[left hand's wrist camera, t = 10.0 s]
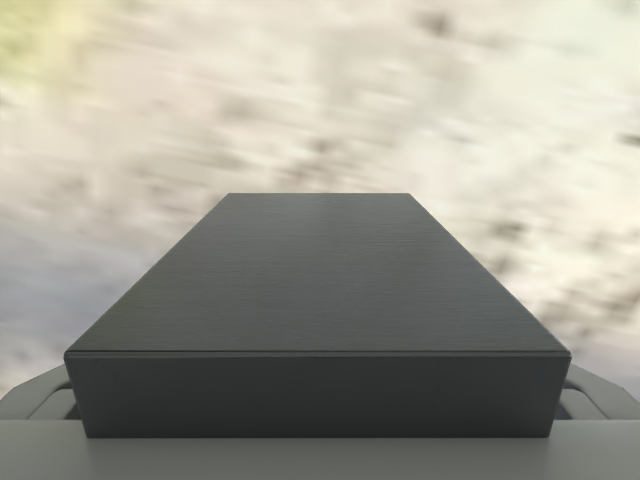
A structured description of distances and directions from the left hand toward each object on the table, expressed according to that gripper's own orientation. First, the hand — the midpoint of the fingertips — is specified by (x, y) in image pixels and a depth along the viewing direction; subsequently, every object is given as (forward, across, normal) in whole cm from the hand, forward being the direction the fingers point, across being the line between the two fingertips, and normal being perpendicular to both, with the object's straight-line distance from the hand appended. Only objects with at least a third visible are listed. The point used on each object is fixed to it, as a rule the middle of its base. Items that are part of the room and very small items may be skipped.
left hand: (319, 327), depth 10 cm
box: (+3, 0, -9) cm, 10 cm away
